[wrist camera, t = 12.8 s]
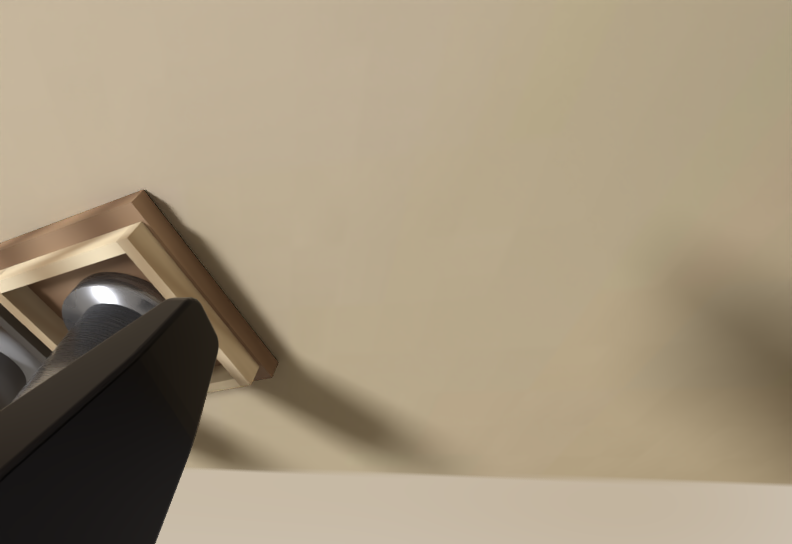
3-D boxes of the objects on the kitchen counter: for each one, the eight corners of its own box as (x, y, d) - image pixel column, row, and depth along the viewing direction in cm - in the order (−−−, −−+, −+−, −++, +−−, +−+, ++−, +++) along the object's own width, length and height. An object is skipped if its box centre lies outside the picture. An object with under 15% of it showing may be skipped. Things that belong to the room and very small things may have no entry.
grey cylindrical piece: (197, 296, 26) (20, 582, 17) (192, 374, 30) (46, 642, 21) (68, 255, 26) (-188, 525, 16) (79, 340, 30) (-122, 597, 20)
